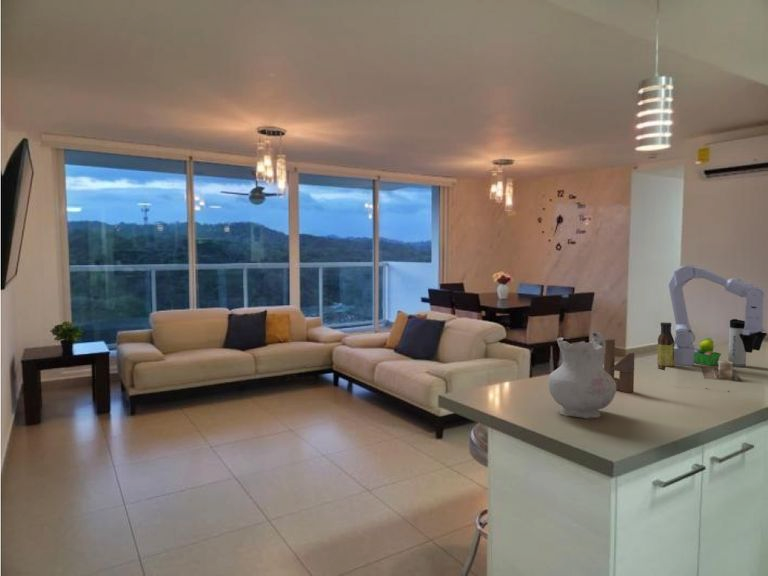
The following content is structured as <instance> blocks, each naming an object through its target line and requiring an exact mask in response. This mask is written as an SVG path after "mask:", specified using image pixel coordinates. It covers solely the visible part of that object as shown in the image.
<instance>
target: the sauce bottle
mask: <svg viewBox="0 0 768 576" xmlns="http://www.w3.org/2000/svg"><path fill="white" fill-rule="evenodd" d="M674 346H675V338H674V337H673V333H672V322H669V321H661V322H660V334H659V335H658V338H657V368H658V369H660V370H666V367H667V368H670V367H671V368H672V367H674V366H675V364H674Z"/></svg>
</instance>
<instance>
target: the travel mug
mask: <svg viewBox="0 0 768 576" xmlns="http://www.w3.org/2000/svg"><path fill="white" fill-rule="evenodd" d="M744 328H745V320H741V319H737V318H732V319H730V320H729V330H728V331H729V334H728V335H729V336H728V356H727V357H728V359H727V361H731V362H732V364H733V367H735V366H738V368H745V367H746V366H747V352H745V349H744V345H743V342H742V339H741V338H740V336H739V335H740V334H743V330H744ZM744 366H745V367H744Z"/></svg>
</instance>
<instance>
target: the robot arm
mask: <svg viewBox="0 0 768 576" xmlns="http://www.w3.org/2000/svg"><path fill="white" fill-rule="evenodd" d="M693 279H705V280H708V281H710V282H712V283H715V284H718V285H720V286H723V287H724V290H725V291H726V292H729V293H731V294H734V295H736V296H738V297H741V298H745V299H746V304H745V313H744V314H745V315H744V321H745V328H744V330H743V334H740V335H739V336H740V338H741V339H742V342H743V345H744V349H745V352H746V353H753V350H754V351H760V349H761V347H762V344H763V341H764V340H765V338H766V336H768V335H767V334H768V333H767V332H766V331H767V329H765V328H764V327H763V323H764V321H763V319H764V300H763V299H764V297H765V291H764V290H763V289H762V288H760V287H759V286H754V284H752V283H751V284H749V283H747V282H744V281H742V280H741V278H738V277H736V278H735V277H732V278H726V277H724V276H721V275H719V274H717V273H714V272H712V271H710V270H708V269H706V268H702V267H699V266H695V265H693V264H683V265H680V266H679V267H678V268H677V269H676V270H674V271H673V275H672V278H671V279H670V281H669V283H668V289H669V296H670V300H671V304H672V305H671V306H672V311H673V316H674V321H675V335H674V336H675V337H674V365H679V366H688V367H689V366H694V365H695V363H694V349H695V345H694V344H693V343H694V342H695V340H696V335H695V333H694V332H693V331H692V327H691V325H690V322H689V317H688V312H687V311H688V310H687V305H686V300H685V295H684V289H683V287H684V286H686V284H687V283H688V282H690V281H691V280H693Z"/></svg>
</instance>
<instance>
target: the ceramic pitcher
mask: <svg viewBox="0 0 768 576" xmlns="http://www.w3.org/2000/svg"><path fill="white" fill-rule="evenodd" d="M592 336H593V337H592V340H591V341H590V342H585V341H579V342H577V343H570V342H568V341H566V340H564V337H558V338H556V341H557V344H558V348H559V349H560V353H561V357H562V363H561V365H560V366H559V367H558V368H556V369H555V370H553V371H552V372H551V373H550V374H549V376H548V381H547V382H548V383H547V384H548V390H549V393H550V395H551V397H552V398H553V400H554V401H555V403H557V404H558V405H560V406H562V408H561V409H560V410H561V411H560V410H559V412H561V413H563V414H564V415H563V416H565V417H577V418H582V419H587V420H588V419H597V418H601V417H602V415H601V412H600V411H599V410H602V409H605V408H606V407H607V406H609V405H610V404H611V403H612V401H613V400H614V398H615V396H616V393H617V392H616V391H617V390H616V383H615V381H614V379H613V378H612V377H611V375H609V374H608V373H607V372H606V371H605V370H604V355H605V341H604V339H605V338H604V336H603V335H602V332H600V331H598V330H596V331H593V333H592Z"/></svg>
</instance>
